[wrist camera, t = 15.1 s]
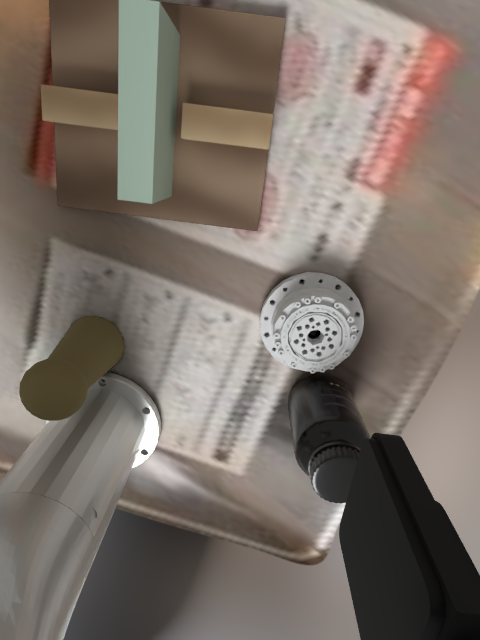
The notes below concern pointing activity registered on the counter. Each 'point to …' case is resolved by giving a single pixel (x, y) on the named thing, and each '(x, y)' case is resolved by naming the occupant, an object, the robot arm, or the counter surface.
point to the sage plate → (146, 101)
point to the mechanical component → (311, 322)
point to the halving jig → (191, 112)
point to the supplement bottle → (326, 434)
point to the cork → (71, 369)
